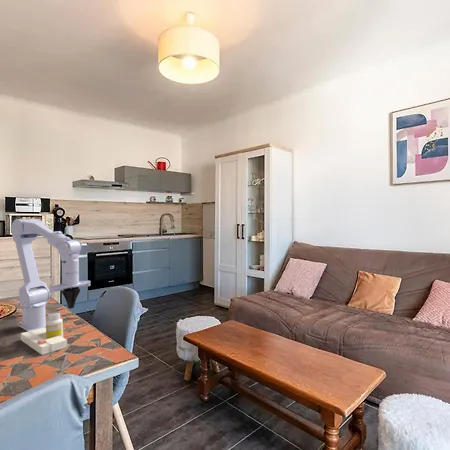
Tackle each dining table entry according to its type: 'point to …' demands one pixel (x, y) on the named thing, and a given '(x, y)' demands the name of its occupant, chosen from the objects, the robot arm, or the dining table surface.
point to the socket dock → (43, 341)
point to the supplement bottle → (54, 325)
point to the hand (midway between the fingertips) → (70, 307)
